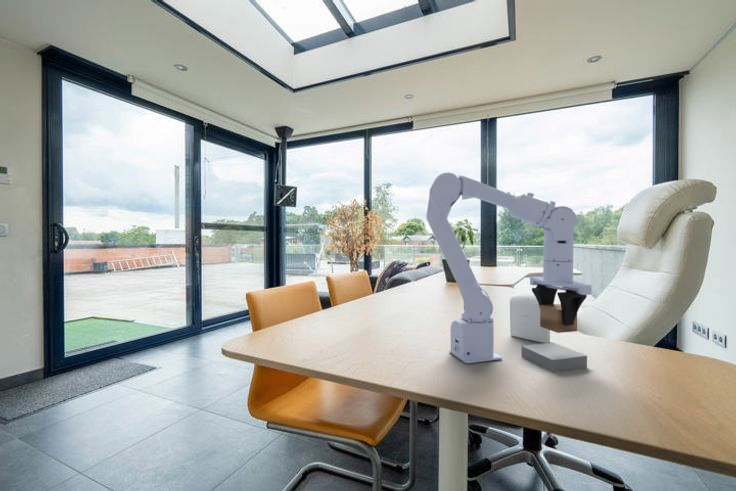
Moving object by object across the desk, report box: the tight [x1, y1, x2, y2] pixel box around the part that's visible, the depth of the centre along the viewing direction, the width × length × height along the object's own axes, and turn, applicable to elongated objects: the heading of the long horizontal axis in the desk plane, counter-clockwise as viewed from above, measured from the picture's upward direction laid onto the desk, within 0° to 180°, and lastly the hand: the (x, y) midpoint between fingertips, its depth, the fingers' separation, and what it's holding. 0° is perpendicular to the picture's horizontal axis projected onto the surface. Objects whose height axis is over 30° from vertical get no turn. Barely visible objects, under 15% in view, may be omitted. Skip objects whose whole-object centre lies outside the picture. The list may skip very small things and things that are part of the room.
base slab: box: [521, 341, 588, 373], centre depth 71 cm, size 9×9×3 cm
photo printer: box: [509, 293, 551, 344], centre depth 87 cm, size 10×4×12 cm, turn 39°
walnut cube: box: [540, 303, 578, 334], centre depth 70 cm, size 5×5×5 cm
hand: (557, 321), depth 70 cm, fingers closed on walnut cube, 5 cm apart
